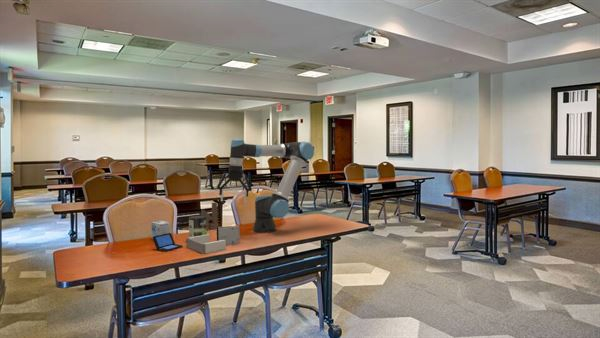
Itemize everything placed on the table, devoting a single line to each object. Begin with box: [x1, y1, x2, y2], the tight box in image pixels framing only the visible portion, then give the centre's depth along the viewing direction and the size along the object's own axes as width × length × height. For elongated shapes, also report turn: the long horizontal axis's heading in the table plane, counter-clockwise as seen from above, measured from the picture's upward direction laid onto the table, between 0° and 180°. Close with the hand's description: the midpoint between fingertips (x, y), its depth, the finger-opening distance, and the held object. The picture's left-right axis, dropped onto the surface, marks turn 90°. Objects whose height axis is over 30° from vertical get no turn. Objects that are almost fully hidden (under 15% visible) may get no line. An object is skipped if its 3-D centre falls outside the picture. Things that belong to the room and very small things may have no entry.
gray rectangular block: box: [216, 224, 240, 246], centre depth 221 cm, size 14×5×10 cm, turn 119°
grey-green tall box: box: [188, 214, 208, 238], centre depth 232 cm, size 10×10×14 cm
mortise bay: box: [185, 233, 227, 255], centre depth 213 cm, size 14×20×5 cm
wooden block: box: [201, 201, 220, 231], centre depth 263 cm, size 4×11×18 cm, turn 130°
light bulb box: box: [151, 220, 171, 240], centre depth 235 cm, size 11×7×11 cm, turn 47°
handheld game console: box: [152, 232, 184, 253], centre depth 214 cm, size 12×11×7 cm
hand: (233, 201), depth 227 cm, fingers open, 13 cm apart
